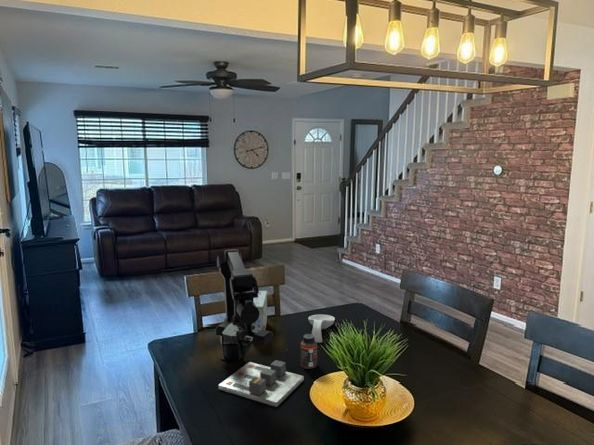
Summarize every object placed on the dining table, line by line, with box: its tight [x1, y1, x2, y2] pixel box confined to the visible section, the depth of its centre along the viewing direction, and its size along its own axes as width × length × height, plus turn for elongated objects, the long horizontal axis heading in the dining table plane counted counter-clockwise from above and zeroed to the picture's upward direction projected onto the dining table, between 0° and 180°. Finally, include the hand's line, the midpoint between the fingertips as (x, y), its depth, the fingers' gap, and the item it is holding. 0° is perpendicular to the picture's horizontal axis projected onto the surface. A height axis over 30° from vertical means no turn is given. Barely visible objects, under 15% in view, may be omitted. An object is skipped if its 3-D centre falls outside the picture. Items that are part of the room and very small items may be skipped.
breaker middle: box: [260, 368, 276, 386], centre depth 147 cm, size 4×4×4 cm
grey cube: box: [249, 377, 266, 395], centre depth 141 cm, size 4×4×4 cm
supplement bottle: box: [300, 333, 318, 370], centre depth 161 cm, size 6×6×11 cm
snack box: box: [253, 290, 268, 332], centre depth 191 cm, size 21×6×15 cm, turn 179°
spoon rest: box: [308, 314, 336, 344], centre depth 191 cm, size 24×12×7 cm, turn 171°
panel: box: [218, 361, 305, 408], centre depth 149 cm, size 22×18×2 cm
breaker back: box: [269, 359, 287, 377], centre depth 153 cm, size 4×4×4 cm
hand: (244, 357), depth 144 cm, fingers closed
